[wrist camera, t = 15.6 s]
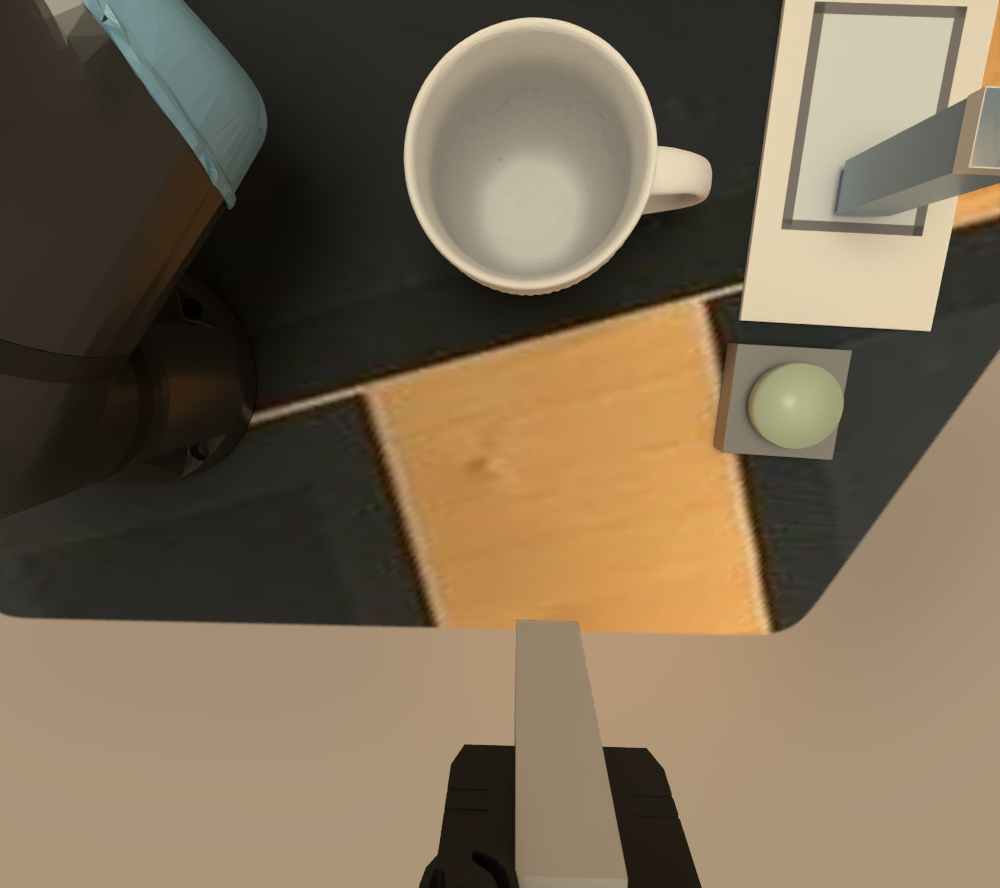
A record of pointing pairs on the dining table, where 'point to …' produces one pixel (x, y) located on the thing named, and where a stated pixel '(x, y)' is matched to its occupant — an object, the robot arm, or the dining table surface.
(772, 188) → the sheet
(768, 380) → the button
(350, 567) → the dining table surface
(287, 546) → the dining table surface
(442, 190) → the mug
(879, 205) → the square grey prism
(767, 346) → the button housing
